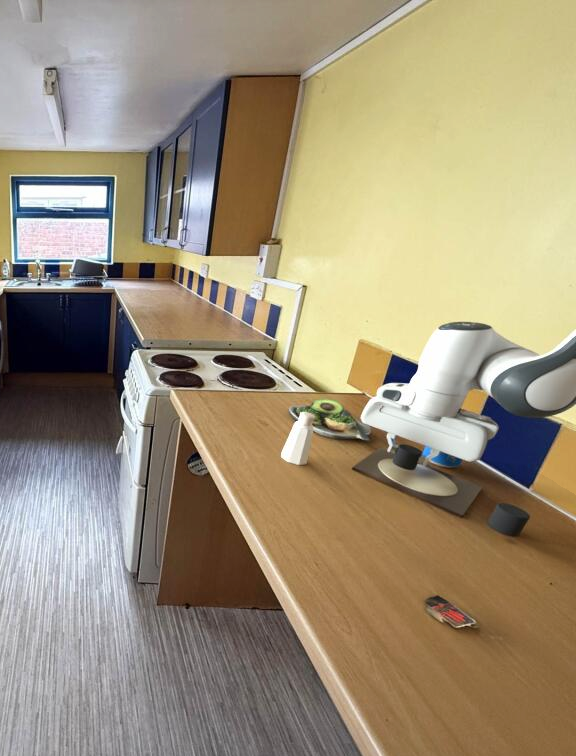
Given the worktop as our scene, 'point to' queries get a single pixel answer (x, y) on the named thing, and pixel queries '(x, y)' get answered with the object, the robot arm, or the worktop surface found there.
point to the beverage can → (443, 459)
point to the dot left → (407, 457)
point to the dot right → (508, 519)
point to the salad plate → (332, 420)
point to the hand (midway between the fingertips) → (406, 458)
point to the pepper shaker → (299, 440)
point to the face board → (421, 482)
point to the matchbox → (448, 612)
